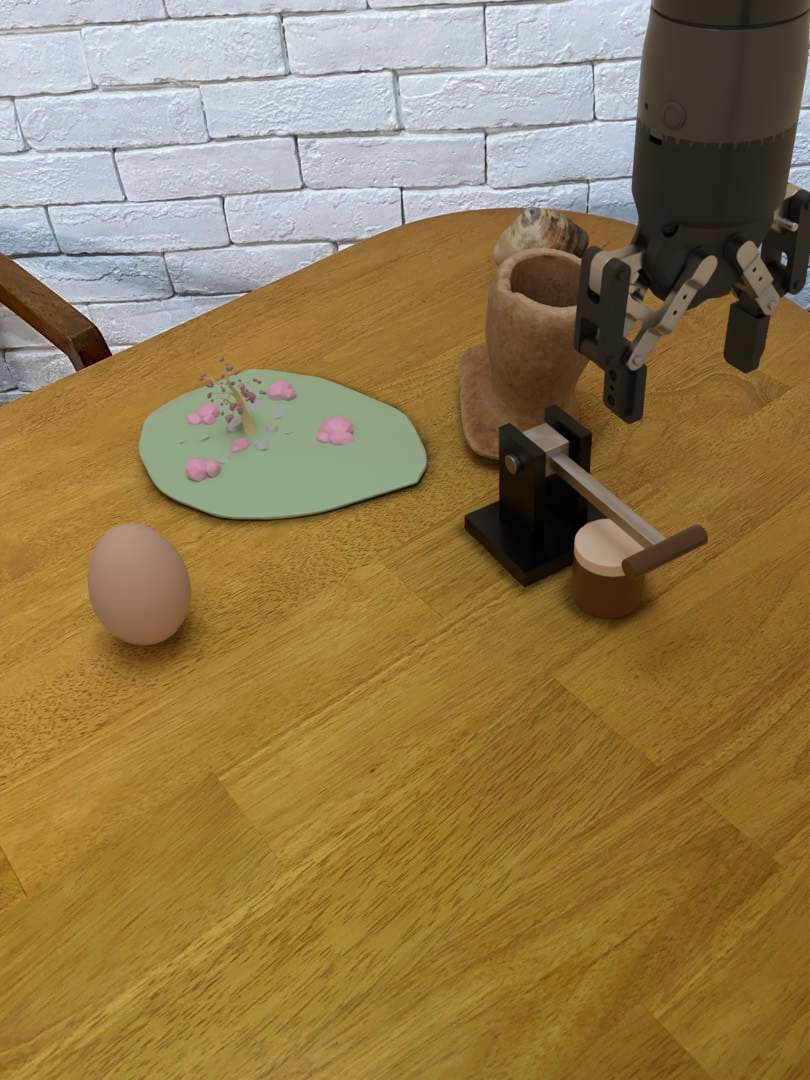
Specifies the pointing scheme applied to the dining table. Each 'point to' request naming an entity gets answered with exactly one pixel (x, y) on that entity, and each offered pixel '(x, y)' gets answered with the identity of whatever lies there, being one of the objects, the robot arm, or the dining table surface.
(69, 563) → the dining table surface
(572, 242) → the seashell
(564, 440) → the metal lever handle
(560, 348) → the stone cup
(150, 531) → the egg
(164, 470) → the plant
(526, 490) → the black angular piece
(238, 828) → the dining table surface
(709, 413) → the dining table surface
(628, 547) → the brown lidded jar
